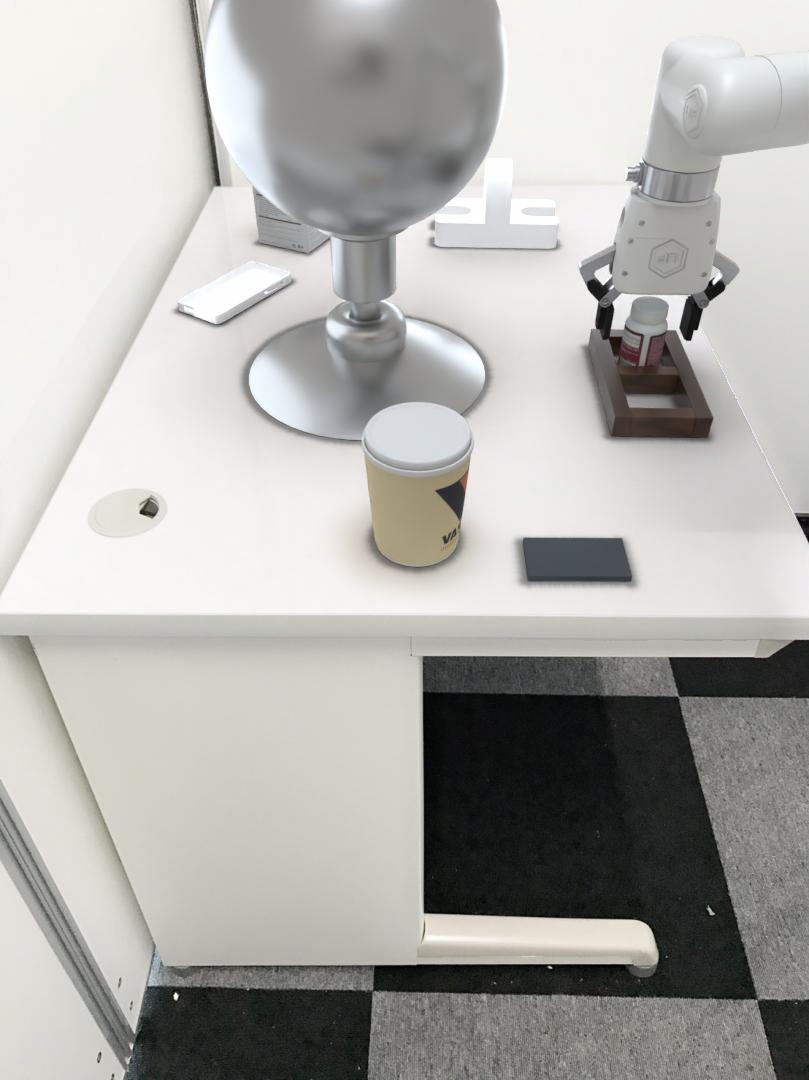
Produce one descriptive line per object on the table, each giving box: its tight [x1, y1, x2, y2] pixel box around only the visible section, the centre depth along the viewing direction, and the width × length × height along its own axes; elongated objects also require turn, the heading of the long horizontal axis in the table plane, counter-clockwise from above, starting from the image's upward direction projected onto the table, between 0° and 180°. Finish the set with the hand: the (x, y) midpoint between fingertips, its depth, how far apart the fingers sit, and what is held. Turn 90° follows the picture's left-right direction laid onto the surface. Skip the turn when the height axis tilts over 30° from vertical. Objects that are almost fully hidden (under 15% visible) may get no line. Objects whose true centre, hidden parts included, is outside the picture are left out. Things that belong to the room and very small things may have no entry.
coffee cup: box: [361, 402, 475, 568], centre depth 74 cm, size 9×9×12 cm
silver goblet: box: [204, 0, 509, 441], centre depth 85 cm, size 28×28×45 cm
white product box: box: [251, 184, 330, 254], centre depth 123 cm, size 9×9×15 cm
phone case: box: [177, 260, 292, 325], centre depth 113 cm, size 7×1×15 cm
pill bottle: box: [616, 295, 670, 366], centre depth 97 cm, size 5×5×8 cm
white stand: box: [434, 158, 560, 250], centre depth 125 cm, size 10×18×11 cm, turn 88°
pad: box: [522, 537, 633, 582], centre depth 76 cm, size 9×5×1 cm, turn 89°
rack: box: [587, 328, 714, 438], centre depth 96 cm, size 10×19×2 cm, turn 178°
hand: (644, 334), depth 97 cm, fingers open, 8 cm apart
